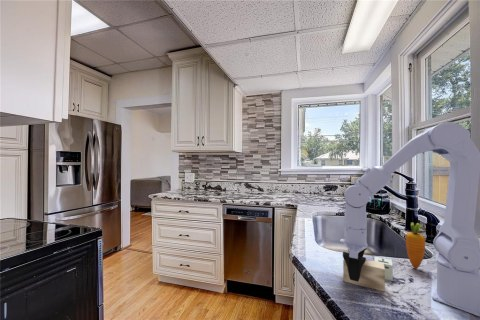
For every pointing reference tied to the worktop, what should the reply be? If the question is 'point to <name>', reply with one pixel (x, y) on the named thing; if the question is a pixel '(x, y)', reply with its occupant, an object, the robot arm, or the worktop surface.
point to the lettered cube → (386, 267)
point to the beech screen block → (368, 275)
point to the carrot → (415, 245)
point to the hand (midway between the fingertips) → (355, 274)
